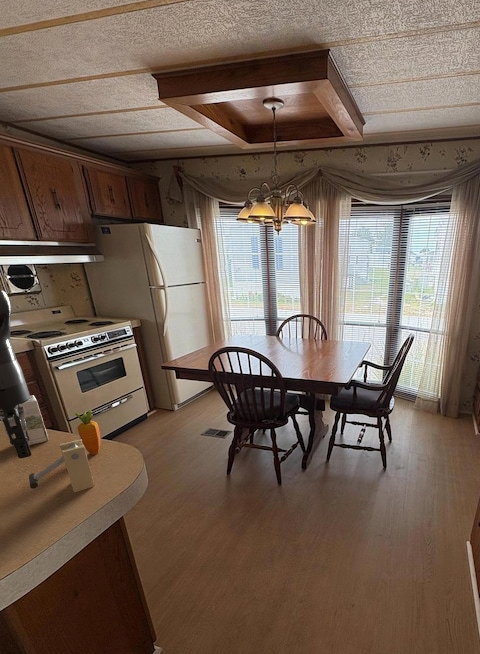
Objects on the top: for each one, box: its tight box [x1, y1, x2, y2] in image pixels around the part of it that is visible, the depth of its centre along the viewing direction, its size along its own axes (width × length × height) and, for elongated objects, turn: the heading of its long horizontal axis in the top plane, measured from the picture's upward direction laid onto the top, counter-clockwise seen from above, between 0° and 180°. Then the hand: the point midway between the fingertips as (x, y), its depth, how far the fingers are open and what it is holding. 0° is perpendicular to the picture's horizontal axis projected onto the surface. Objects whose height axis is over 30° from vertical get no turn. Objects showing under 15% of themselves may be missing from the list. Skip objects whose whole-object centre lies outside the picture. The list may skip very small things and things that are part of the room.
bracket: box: [59, 438, 95, 493], centre depth 86 cm, size 8×7×13 cm
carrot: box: [74, 410, 101, 456], centre depth 99 cm, size 5×5×15 cm
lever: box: [28, 444, 79, 489], centre depth 82 cm, size 12×5×2 cm, turn 130°
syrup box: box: [19, 394, 50, 447], centre depth 106 cm, size 6×6×14 cm
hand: (24, 448), depth 77 cm, fingers open, 8 cm apart
